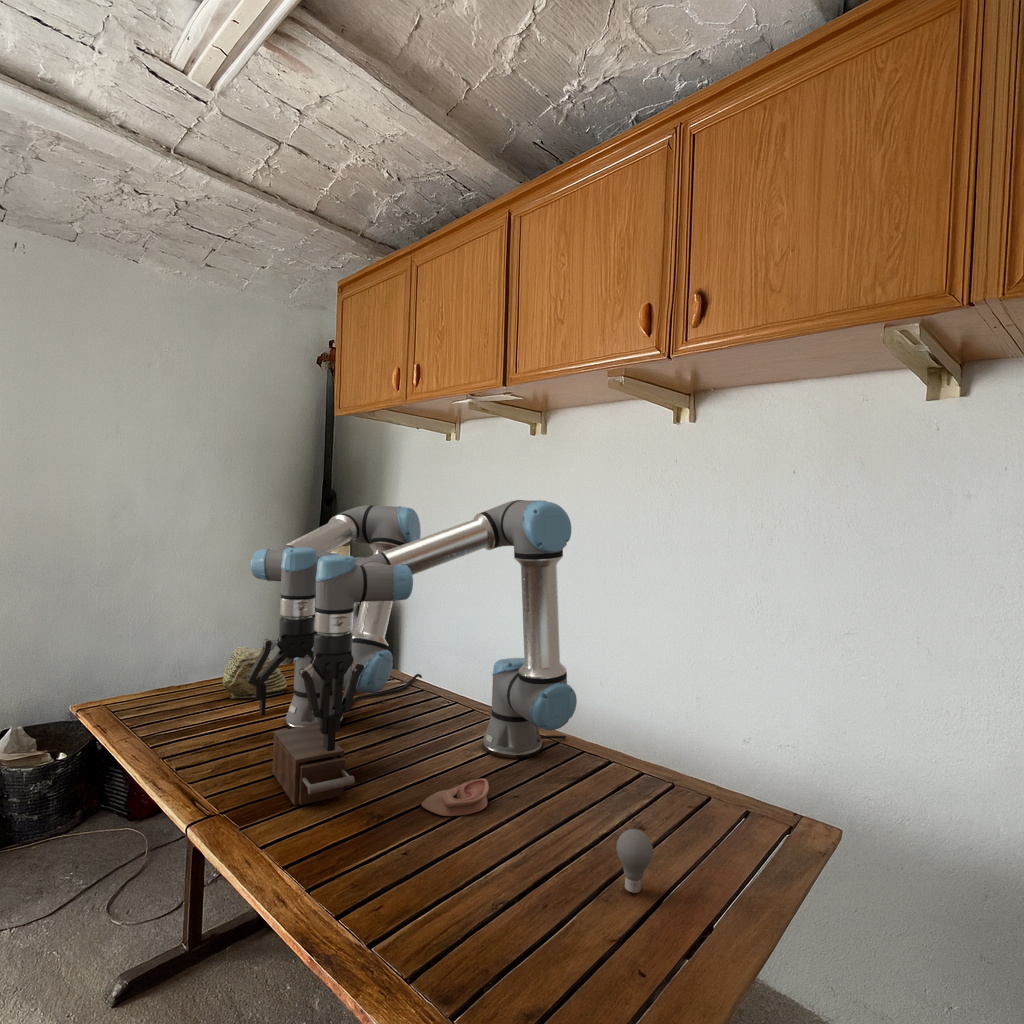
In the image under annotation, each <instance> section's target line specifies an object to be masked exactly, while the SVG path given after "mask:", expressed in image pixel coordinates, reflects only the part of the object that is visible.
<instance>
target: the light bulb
mask: <svg viewBox="0 0 1024 1024" xmlns="http://www.w3.org/2000/svg"><path fill="white" fill-rule="evenodd" d="M615 849H616V854H617V857H618V859H619V861H620V863H621V865H622V867H623V873H624V874H623V875H624V876H625V878H624V888H625V890H627V891H628V892H630V893H634V894H635V893H639V892H640V891H641V889H642V887H641V886H642V879H643V877H644V875H645V871H646V868H647V867H648V866H649V864H650V863H651V861H652V859H653V855H654V847H653V843H652V841H651V838H649V836H648V835H647V834H646V833H645V832H643V831H642V830H641V829H636V828H629V829H627V830H625V831H623V832H622V833H621V834H620V835H619V837H618V839H617V841H616V847H615Z"/></svg>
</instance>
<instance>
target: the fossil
mask: <svg viewBox="0 0 1024 1024" xmlns="http://www.w3.org/2000/svg"><path fill="white" fill-rule="evenodd" d="M262 649H263V648H260V647H258V648H251V647H247V646H246V647H245V646H238V647H237V648H236V649H235V650H233V651H232V653H231V656H230V657H229V659H228V660H227V663H226V666H225V668H224V671H223V675H222V676H223V677H222V685H223V687H224V688H225V690H226V691H228V693H229V698H230V699H250V698H255V685H253V684H249V683H248V681H247V677H248V675H249V673H250V671H251V669H252V667H253V665H254V664H255V662H256V660H257V658H258V656H259V654H260V653H261V651H262ZM272 660H273V658H271V657H270V655H268V657H267V659H266V661H265V663H264V665H263V667H262V668H261V670H260V672H259V674H258V676H259V675H260V674H261V673H262V671H263V670H264V669H265V668H266V667H267V666H268V664H269V663H270V662H271V661H272ZM258 676H257V677H258ZM264 684H265V685H266V697H271V696H275V695H281V694H284V693H285V691H286V689H287V687H288V686H287V680H286V678H285V676H284V674H283V673H282V672H281V669H279V667H277V668H276V669H275V671H274V672H273V673H272V674H271V675H270V676H269V678H268V679H267V680H266V681H265V682H264Z"/></svg>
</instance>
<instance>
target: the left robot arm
mask: <svg viewBox="0 0 1024 1024" xmlns="http://www.w3.org/2000/svg"><path fill="white" fill-rule="evenodd" d="M421 529H422V528H421V522H420V518H419V515H418V513H417V512H416V510H415V509H413V508H412V507H406V506H401V505H399V506H392V505H391V506H390V505H374V504H367V505H359V506H356V507H352V508H350V509H347V510H344V511H342V512H339V513H338V514H336V515H334V516H332V517H331V518H330V519H329V521H328V522H327V523H326V524H324V525H321V526H320V527H317V528H316V529H314V530H311V531H309V532H308V533H306V534H304V535H302V536H300V537H298V538H296V539H293V540H292V541H290V542H288V543H285V544H283V545H282V546H279V547H277V548H276V549H270V548H267V549H266V548H265V549H258V550H257V551H255V552H254V553H253V555H252V556H251V560H250V572H251V574H252V576H253V577H254V578H255V579H257V580H263V581H267V582H280V601H279V602H280V603H279V604H280V605H279V615H280V616H281V617H280V618H279V624H278V625H279V626H278V631H279V632H278V638H277V639H269V638H265V639H263V644H262V648H261V649H262V651H261V653H260V654H259V656H258V658H257V660H256V662H255V664H254V665H253V667H252V669H251V671H250V673H249V675H248V677H247V681H248V683H249V684H253V685H255V697H254V698H255V700H256V701H259V706H258V707H259V710H258V711H259V712H258V713H259V714H260V716H261V717H264V716H265V717H266V702H267V696H266V685H265V684H264V682H265V681H266V680H267V679H268V678H269V676H270V675H271V674H272V673H273V672H274V671H275V669H276V668H279V666H280V665H281V664H282V663H283V662H284V661H286V659H289V660H294V672H293V695H292V696H293V697H292V699H291V702H290V704H289V708H288V711H287V713H286V715H285V726H286V728H287V729H292V728H299V727H305V726H311V725H317V724H319V726H320V717H315V716H314V715H313V714H312V713H311V712H310V707H309V702H308V698H307V693H306V688H305V684H304V680H303V678H302V677H301V675H300V674H299V670H300V669H301V668H303V669H304V668H306V667H307V666H308V665H310V664H311V663H310V662H311V659H312V657H313V648H314V635H315V630H314V622H315V604H316V580H315V578H316V573H317V564H318V560H319V559H320V557H322V556H326V555H340V554H339V553H336V552H334V551H335V550H337V549H339V548H341V547H348V546H351V545H353V544H367V545H369V548H370V549H371V551H372V555H375V554H378V553H382V552H384V551H387V550H389V549H392V548H395V547H398V546H401V545H403V544H406V543H409V542H412V541H415V540H418V539H420V538H421ZM392 608H393V601H369V602H360V606H359V610H358V614H357V619H356V623H355V627H354V631H353V633H352V635H353V639H352V655H353V657H354V661H356V662H359V663H361V664H362V665H363V666H364V669H363V671H362V673H361V674H360V676H359V679H358V682H357V686H356V690H355V693H356V692H358V693H360V694H361V695H357V696H354V697H353V701H352V704H353V703H354V702H355V701H358V700H360V699H365V698H373V697H380V696H384V695H390V694H394V693H399V692H400V691H404V690H406V689H407V688H408V687H409V686H410V684H412V683H413V682H414V681H415V680H416V679H417V678H419V679H422V678H423V676H422V674H421V673H416V674H415V675H414V676H413V677H411V679H410V680H409V681H407V683H406V684H405V685H403V686H400V687H399V688H394V689H390V690H384V691H381V690H382V689H383V688H384V687H385V685H386V684H387V683H388V681H389V679H390V676H391V675H392V671H393V668H394V667H393V666H394V662H393V661H394V657H393V653H392V652H391V651H390V650H389V643H388V642H387V640H386V634H387V629H388V625H389V621H390V616H391V611H392ZM276 646H277V648H278V649H279V650H278V652H277V653H276V654H275V656H274V657H273V658H272V661H271V662H270V663H269V664H268V666H267V667H266V668H265V669H264V670H263V671H262V673H261V674H260V675H259V676H258V674H259V672H260V670H261V668H262V667H263V665H264V663H265V661H266V659H267V657H268V656H270V653H271V651H273V650H274V648H275V647H276ZM350 667H351V666H350ZM350 671H351V670H350V668H349V669H348V670H347V672H346V673H345V675H344V682H343V690H342V691H345V688H346V684H347V680H348V676H349V673H350ZM257 676H258V677H257ZM311 678H312V679H313V682H314V687H315V691H316V696H317V701H318V705H319V706H320V676H319V675H318V674H317V673H316V671H315V670H313V677H311ZM364 693H366V694H364ZM332 694H333V680H332V679H331V685H330V703H329V714H332V715H333V713H332ZM343 722H344V715H343V716H342V717H341V720H340V725H342V723H343Z"/></svg>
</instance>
